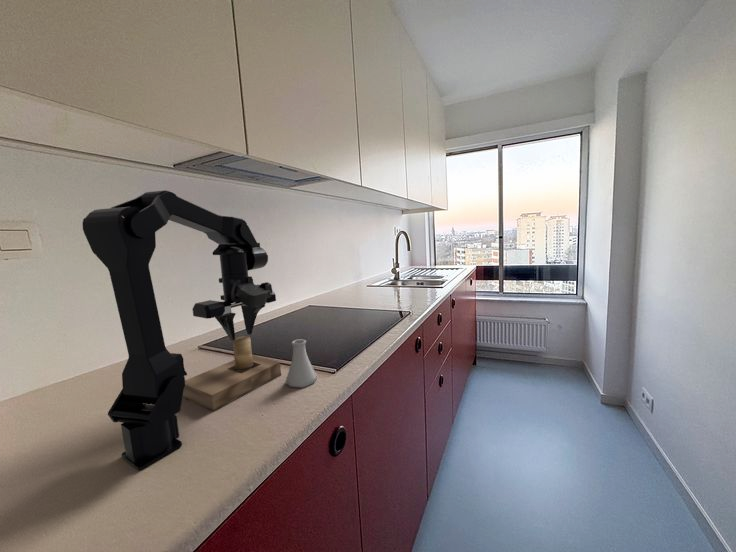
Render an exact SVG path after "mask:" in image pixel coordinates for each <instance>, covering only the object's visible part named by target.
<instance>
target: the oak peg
mask: <svg viewBox="0 0 736 552" xmlns="http://www.w3.org/2000/svg"><path fill="white" fill-rule="evenodd" d="M232 348H233V349H232V350H233V356H234V357H233V358H234V359H233V360H235V369H236V370H238V373H241V374H242V373H244V372H246V371H248V370H250V369H252V367H253V359H252V355H253V351H252V349H253V348H252V341H251V337H250V336H239V337H235V340H232Z"/></svg>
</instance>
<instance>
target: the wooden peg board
mask: <svg viewBox="0 0 736 552" xmlns="http://www.w3.org/2000/svg"><path fill="white" fill-rule="evenodd" d="M252 359H253V367H252V369H250V370H248V371H246V372H244V373H242V374H241V373H238V370H236V369H235V359H233V360H231V361H228V362H226V363H223V364H221V365H220V366H217V367H214V368H212V369H209V370H207V371H204V372H202V373H200V374H197V375H195V376H192V377H189V378H187V379H185V387H184V390H183V396H182V399H186V400H188V401H189V402H192V403H195V404H196V405H198V406H201V407H203V408H205V409H208V410H210V411H211V412H216V411H218V410H219V409H222V408H223V407H225V406H227V405H228V404H230V403H232V402H234V401H236V400H238V399H240V398H241V397H244V396H245V395H247V394H248V393H251V392H252V391H254V390H256V389H258V388H260V387H262V386H264V385H265V384H267V383H269V382H271V381H273V380H275V379H277V378H279V377H281V375H282V369H281V367H282V366H281V361H280V360H279V361H278V360H273V359H270V358H267V357H263V356H258V355H255V354H252Z"/></svg>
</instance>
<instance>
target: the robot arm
mask: <svg viewBox="0 0 736 552" xmlns="http://www.w3.org/2000/svg"><path fill="white" fill-rule="evenodd" d="M168 221H171V222H173V223H176V224H179V225H182V226H184V227H188V228H190V229H192V230H196V231H199V232H202V233H204V234H206V236H207V238H208V239H209V240H211V241H213V242H215V243H216V244H218V246H216V248H214V250H213V252H212V256H219V261H220V271H221V277H219V278H218V282H219V283H220V284H222V291H223V294H222V295H220V300H221V301H218V300H212V299H211V300H210V299H209V300H205V301H201V302H195V303H194V305H193V307H192V315H193V317H197V318H201V319H213V318H215V319H216V321H217V322H218V323H219V325H220V326H221V327H222V328H223V330H224V332H225V334H226V335H227V336H228V338H229V340H231V341H233V340H235V338H236V337H235V336H236V331H235V324H234V318H235V317H236V314H237V313H235V312H232V308H236V307H240V306H241V312H242V316H243V321H244V327H245V330H246V334H247V335H249V336H251V335H252V334H253V330H254V327H255V322H256V320H257V315H258V313H259V312H260V311H261V310H262V309H263V308H265V307H266V304H270V303H273V302H276V301H277V298H276V297H277V296H276V293H275V292H274V289H273V287H272V283H270V282H268V281H266V282H262V283H260V284H255V283H254V279H253V276H251V275H249V271H252V270H258V269H263V268H264V267H265V266H266V265H267V264H268V262H269V255H268V254H267V252H266V250H265V249H264V248H262V247H261V244H260V242H257V239H256V238H255V236H254V234H253V233H252V230H251V229H250V226H249V225H248V223H247V222H246V220H245V219H243V218H241V217H240V218H239V217H235V216H225V215H220V214H216V213H215V212H212V211H210V210H208V209H206V208H203V207H202V206H199V205H198V204H194V203H193V202H191V201H188V200H186V199H184V198H182V197H180V196H177V195H176V193H174V192H171V191H169V190H166V189H165V190H157V191H156V190H155V191H146V192H144V193H143V194H141V195H138V196H137V197H135V198H132V199H130V200H126V201H125V202H122V203H119V204H117V205H114V206H112V207H110V208H109V207H108V208H100V209H99V208H97V209H94V210H92V211H91V212H89V213H88V214H87V215H86V216H85V217H84V218H83V220H82V230H83V234H84V235H85V238H86V240H87V242H88V245H89V247H90V249H91V251H92V253H93V254H94V256H96V257H97V259H99V261H100V262H101V263H102V264H103V265H104V266H105V267H106V268H107V270H108V273H109V277H110V281H111V286H112V289H113V294H114V298H115V303H116V306H117V310H118V315H119V320H120V324H121V327H122V331H123V337H124V342H125V346H126V350H127V353H128V355H127V356H128V358H127V361H126V363H125V366H124V368H123V370H122V374H121V381H122V382H121V383H122V384H121V385H122V389H121V391H120V392H119V394H118V395H117V397H116V398H115V400H114V402H113V404H112V405H111V407H110V409H109V410H108V411H107V416H108V417H109V418H110V419H111V420H110V421H112V422H113V423H120V426H121V434H122V438H123V439H122V440H123V445H124V451H123V452H122V453H121V454H120V455H121V458H122V459H124V460H125V461H126V462H128V463H129V464H130V465H131V466H132V467H134V468H135V469H136V470H137V471H140V470H143V469H145V468H146V467H149V466H150V465H151V464H153V463H155V462H157V461H158V460H160V459H162V458H163V457H165V456H167V455H168V454H170V453H172V452H174V451H176V450H177V449H179V448H180V447H182V446H183V441H181V440H180V439H179V438H180V432H179V431H180V430H179V424H178V423H179V422H178V416H177V414H178V413H180V412H181V407H182V403H183V397H182V396H183V390H184V387H185V380H186V377H187V376H188V373H187V371H186V369H185V366H184V365H185V364H184V363H185V362H184V357H183V355H182V353H173V352H172V353H171V352H170V351H169V350H168V349H167V346H166V343H165V339H164V334H163V329H162V323H161V318H160V313H159V308H158V305H157V304H158V303H157V301H156V299H157V298H156V294H155V290H154V285H153V280H152V277H151V276H152V274H151V271H150V263H151V260H152V257H153V255H154V252H155V250H156V246H157V245H156V244H157V243H156V232H158V231H159V230H161V229H162V228H163V227H165V226H166V225H167V224H168Z"/></svg>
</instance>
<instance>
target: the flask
mask: <svg viewBox="0 0 736 552" xmlns="http://www.w3.org/2000/svg"><path fill="white" fill-rule="evenodd" d="M306 343H307V340H306V339H300V338H298V339H295V340H293V341H291V345H292V349H293V351H292V358H291V363H290V366H289V370H288V372H287V376H286V379H285V384H286V385H288V386H289V387H291V388H305V387H309V386H311V385H313V384H315V382H316V380H317V379H318V375H317V374H316V371H315V369H314V367H313V365H312V364H311V363H312V362H311V361H310V359H309V357H308V353H307V351H306V350H307V349H306Z"/></svg>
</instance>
